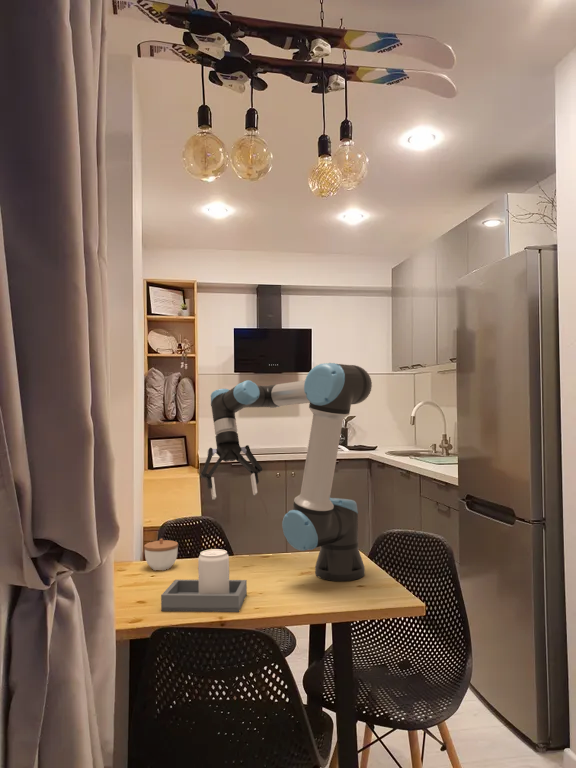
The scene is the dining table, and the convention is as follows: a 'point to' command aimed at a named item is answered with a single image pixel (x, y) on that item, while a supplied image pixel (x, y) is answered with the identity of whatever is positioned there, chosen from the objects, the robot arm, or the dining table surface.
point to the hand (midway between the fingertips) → (235, 496)
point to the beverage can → (213, 572)
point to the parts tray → (202, 597)
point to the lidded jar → (161, 554)
